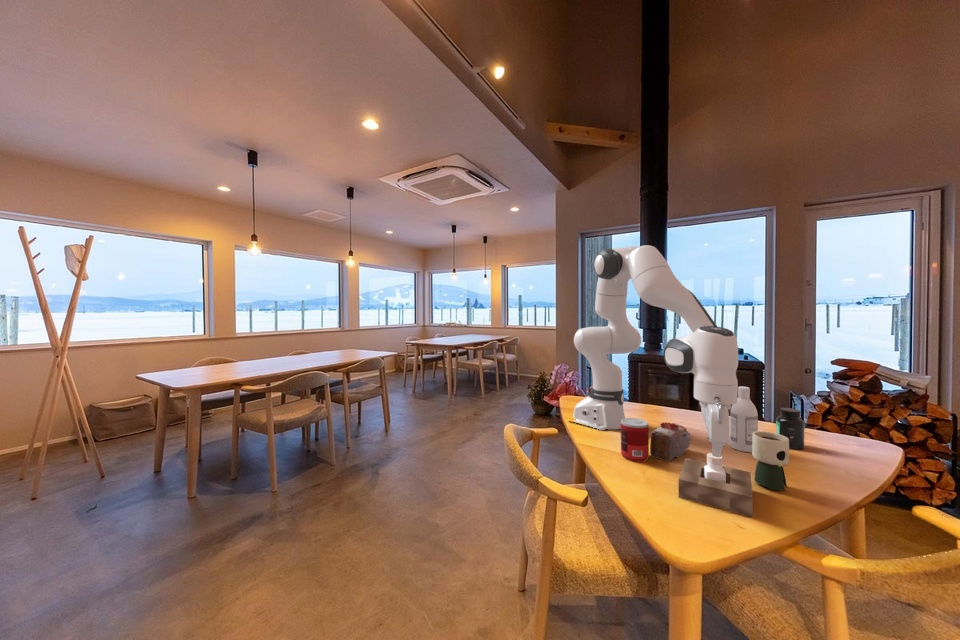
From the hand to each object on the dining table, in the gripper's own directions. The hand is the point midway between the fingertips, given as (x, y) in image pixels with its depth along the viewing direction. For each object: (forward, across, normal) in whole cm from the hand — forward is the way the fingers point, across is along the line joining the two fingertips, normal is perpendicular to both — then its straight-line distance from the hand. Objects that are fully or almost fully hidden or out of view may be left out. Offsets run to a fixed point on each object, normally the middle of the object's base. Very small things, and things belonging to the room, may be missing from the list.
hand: (714, 448), depth 83 cm
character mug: (+11, +10, -13) cm, 20 cm away
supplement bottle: (+12, +44, -25) cm, 52 cm away
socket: (+11, -1, 0) cm, 11 cm away
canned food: (+12, +13, +19) cm, 26 cm away
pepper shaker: (+11, -1, 0) cm, 11 cm away
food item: (+12, +21, +9) cm, 26 cm away
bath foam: (+12, +35, -12) cm, 39 cm away
